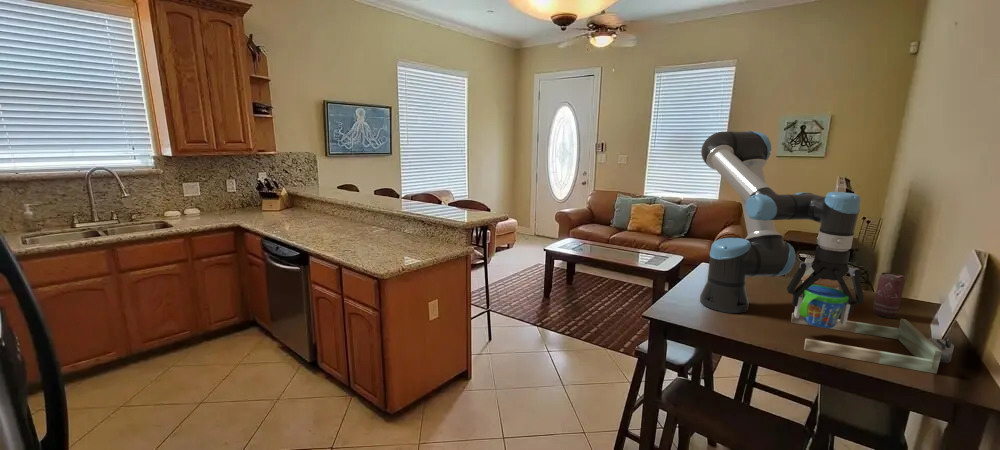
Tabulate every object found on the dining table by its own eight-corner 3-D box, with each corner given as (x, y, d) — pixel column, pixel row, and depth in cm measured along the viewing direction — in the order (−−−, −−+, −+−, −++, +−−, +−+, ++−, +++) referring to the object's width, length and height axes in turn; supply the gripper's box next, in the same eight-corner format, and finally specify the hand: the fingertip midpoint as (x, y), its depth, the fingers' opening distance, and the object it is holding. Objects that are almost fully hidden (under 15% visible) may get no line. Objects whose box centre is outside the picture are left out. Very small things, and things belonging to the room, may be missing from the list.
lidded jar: (841, 301, 148) (845, 276, 146) (829, 308, 142) (834, 282, 141) (806, 292, 157) (810, 269, 155) (794, 298, 151) (798, 274, 149)
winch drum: (931, 362, 108) (937, 337, 107) (919, 351, 114) (925, 327, 113) (957, 367, 106) (963, 341, 105) (944, 355, 112) (950, 330, 110)
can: (902, 319, 134) (911, 278, 131) (879, 318, 135) (888, 277, 132) (889, 312, 140) (897, 272, 137) (867, 310, 141) (875, 271, 138)
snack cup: (822, 312, 128) (828, 282, 126) (858, 328, 118) (865, 295, 116) (781, 318, 125) (786, 286, 122) (814, 335, 115) (820, 301, 112)
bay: (804, 350, 115) (808, 330, 114) (790, 321, 133) (793, 303, 132) (936, 373, 103) (941, 351, 102) (901, 338, 121) (906, 319, 120)
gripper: (787, 246, 118) (774, 317, 123) (891, 256, 108) (873, 333, 113) (782, 239, 124) (771, 307, 129) (880, 249, 115) (864, 322, 120)
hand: (819, 319), depth 121 cm, fingers closed on snack cup, 10 cm apart
